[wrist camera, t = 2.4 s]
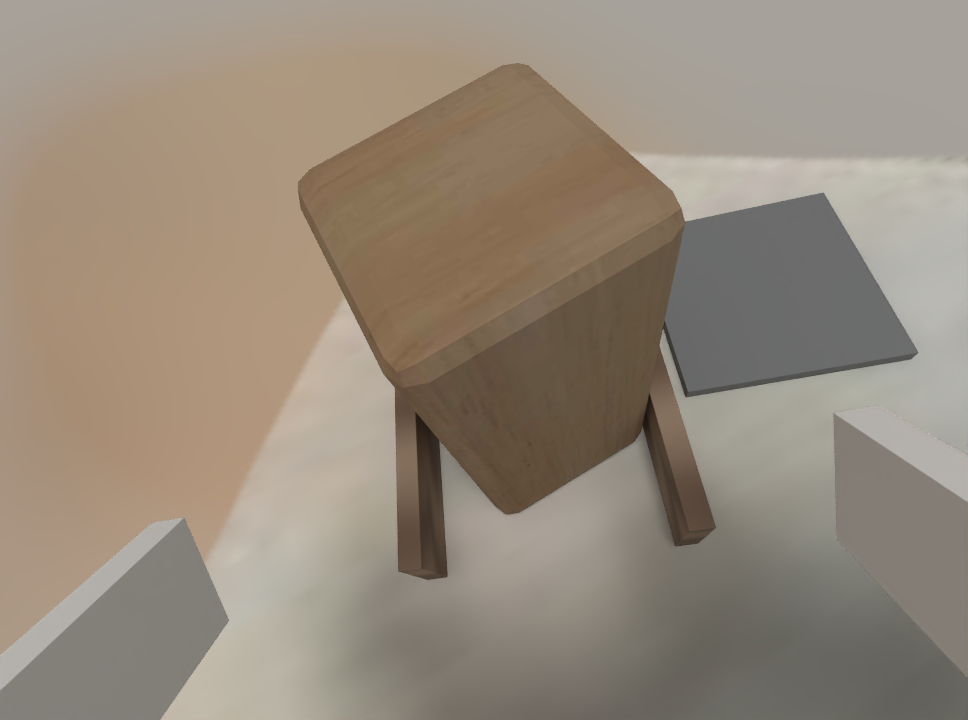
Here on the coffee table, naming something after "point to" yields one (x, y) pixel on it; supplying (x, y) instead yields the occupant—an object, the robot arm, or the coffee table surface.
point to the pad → (775, 300)
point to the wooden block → (505, 276)
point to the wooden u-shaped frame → (424, 487)
